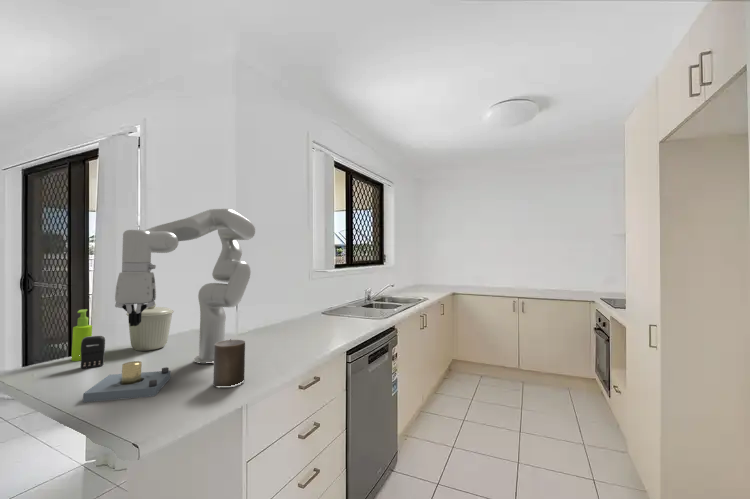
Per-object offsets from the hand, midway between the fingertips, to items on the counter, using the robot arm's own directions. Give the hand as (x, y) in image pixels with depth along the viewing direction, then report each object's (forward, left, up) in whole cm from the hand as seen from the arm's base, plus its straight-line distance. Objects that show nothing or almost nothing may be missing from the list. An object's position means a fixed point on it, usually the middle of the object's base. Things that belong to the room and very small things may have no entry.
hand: (134, 325), depth 107 cm
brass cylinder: (0, 0, -20) cm, 20 cm away
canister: (+11, -52, -20) cm, 57 cm away
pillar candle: (-29, +2, -20) cm, 35 cm away
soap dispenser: (+31, -39, -20) cm, 54 cm away
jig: (0, 0, -20) cm, 20 cm away
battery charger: (+22, -27, -20) cm, 40 cm away
